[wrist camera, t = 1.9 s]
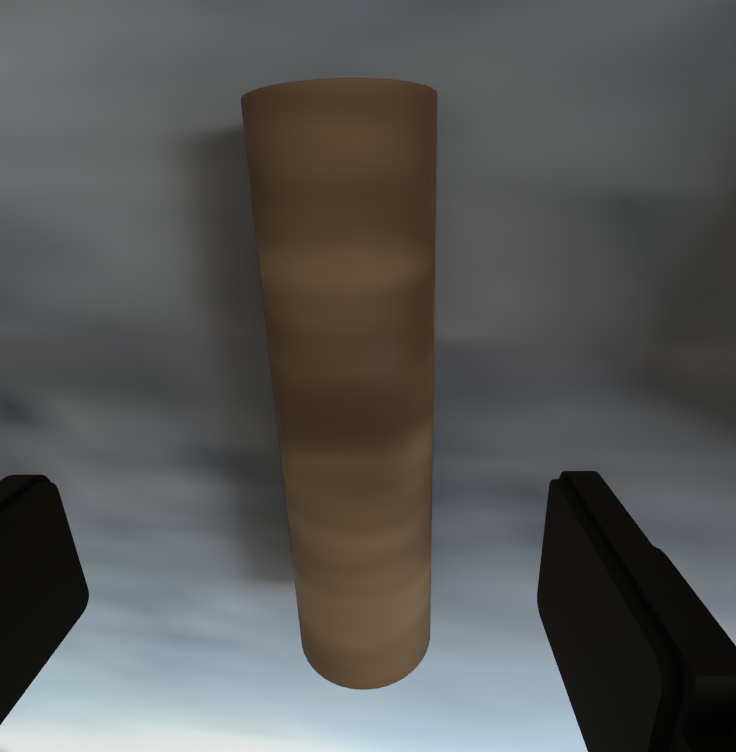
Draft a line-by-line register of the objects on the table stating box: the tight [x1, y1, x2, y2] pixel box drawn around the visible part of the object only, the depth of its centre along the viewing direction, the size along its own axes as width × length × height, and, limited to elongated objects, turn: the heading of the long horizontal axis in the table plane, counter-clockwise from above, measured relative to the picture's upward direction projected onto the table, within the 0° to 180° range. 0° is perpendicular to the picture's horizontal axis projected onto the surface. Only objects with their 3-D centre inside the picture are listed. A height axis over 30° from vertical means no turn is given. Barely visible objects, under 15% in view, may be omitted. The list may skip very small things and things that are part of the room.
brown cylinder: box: [241, 78, 437, 689], centre depth 14 cm, size 16×4×4 cm, turn 2°
